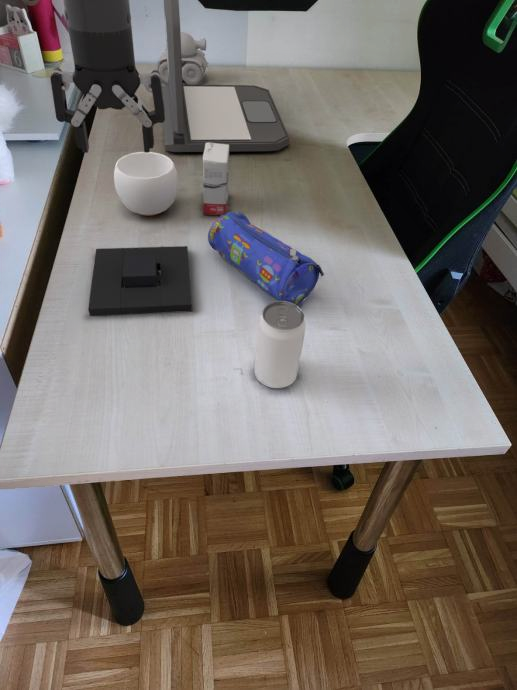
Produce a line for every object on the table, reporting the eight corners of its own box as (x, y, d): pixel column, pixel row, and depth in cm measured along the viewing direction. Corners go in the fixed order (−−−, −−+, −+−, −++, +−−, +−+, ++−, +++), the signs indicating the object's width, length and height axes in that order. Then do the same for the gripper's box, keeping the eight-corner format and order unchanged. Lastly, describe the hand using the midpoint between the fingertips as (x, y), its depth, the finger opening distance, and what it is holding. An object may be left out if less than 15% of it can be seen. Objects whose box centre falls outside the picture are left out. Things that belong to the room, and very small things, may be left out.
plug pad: (124, 292, 88) (122, 276, 86) (126, 272, 92) (123, 256, 89) (157, 291, 89) (155, 275, 86) (157, 271, 93) (155, 255, 90)
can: (252, 388, 75) (258, 329, 67) (255, 356, 80) (260, 296, 71) (297, 391, 75) (308, 333, 67) (296, 359, 80) (306, 300, 71)
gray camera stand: (290, 154, 128) (307, 7, 106) (165, 155, 124) (154, 2, 101) (265, 95, 155) (274, -33, 132) (161, 94, 150) (152, -39, 127)
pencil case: (320, 299, 90) (329, 255, 83) (285, 320, 86) (291, 274, 79) (239, 241, 101) (241, 197, 94) (204, 256, 97) (204, 211, 90)
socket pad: (89, 315, 84) (88, 309, 83) (97, 255, 95) (96, 248, 94) (191, 311, 86) (191, 304, 85) (187, 252, 97) (187, 246, 96)
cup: (190, 214, 107) (188, 170, 100) (136, 231, 101) (131, 186, 94) (160, 188, 113) (156, 145, 106) (108, 203, 107) (101, 159, 100)
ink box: (226, 216, 107) (227, 162, 98) (202, 215, 107) (202, 161, 98) (228, 195, 113) (230, 142, 104) (206, 193, 113) (205, 141, 104)
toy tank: (209, 75, 163) (209, 29, 154) (206, 88, 156) (205, 40, 146) (162, 72, 163) (159, 25, 153) (156, 84, 155) (153, 35, 146)
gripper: (159, 14, 66) (166, 139, 77) (42, 9, 64) (68, 138, 75) (159, 31, 61) (167, 162, 72) (32, 27, 59) (61, 162, 70)
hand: (116, 150), depth 74 cm, fingers open, 8 cm apart
